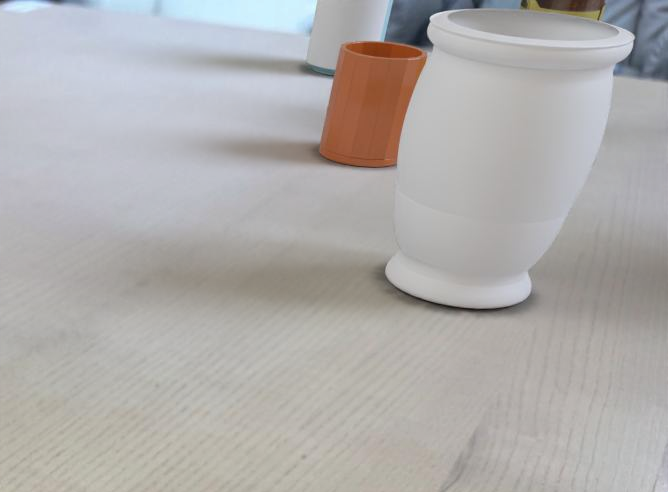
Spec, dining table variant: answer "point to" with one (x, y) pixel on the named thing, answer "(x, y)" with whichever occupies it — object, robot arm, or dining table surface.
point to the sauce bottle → (567, 7)
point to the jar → (497, 149)
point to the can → (344, 28)
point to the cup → (370, 102)
